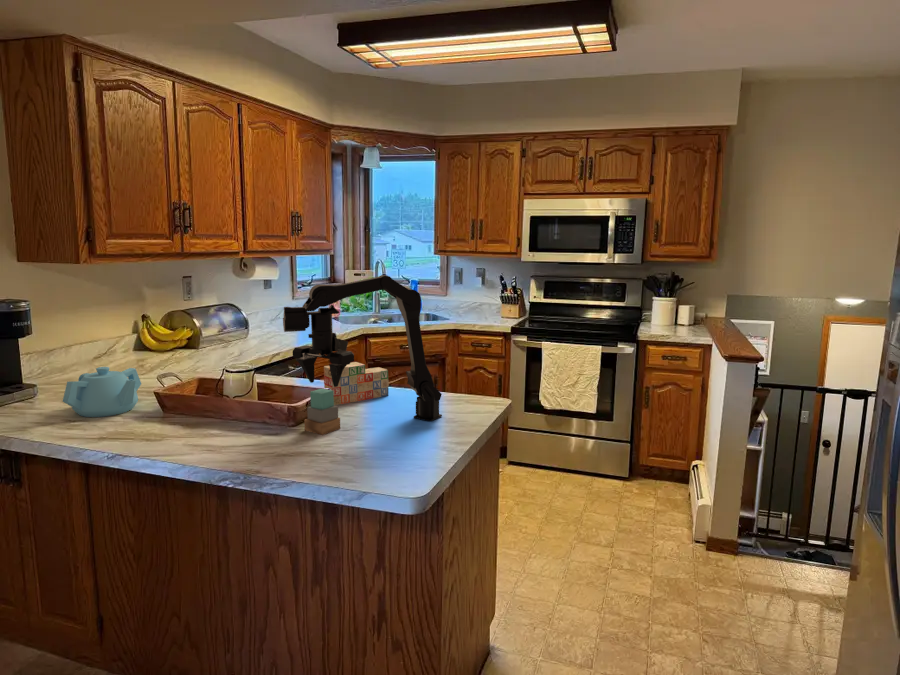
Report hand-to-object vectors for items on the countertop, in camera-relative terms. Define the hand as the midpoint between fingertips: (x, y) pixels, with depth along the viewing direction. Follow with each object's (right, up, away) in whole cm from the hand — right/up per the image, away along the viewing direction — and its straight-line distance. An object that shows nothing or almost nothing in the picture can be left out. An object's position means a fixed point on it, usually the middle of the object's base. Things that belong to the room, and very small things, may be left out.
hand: (323, 384), depth 165 cm
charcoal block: (0, -10, 0) cm, 10 cm away
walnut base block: (0, -13, +1) cm, 13 cm away
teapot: (-71, -10, +17) cm, 74 cm away
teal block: (0, -6, 0) cm, 6 cm away
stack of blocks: (+4, -8, +34) cm, 35 cm away
